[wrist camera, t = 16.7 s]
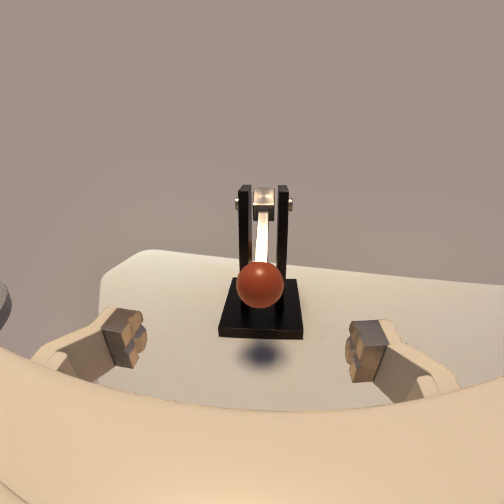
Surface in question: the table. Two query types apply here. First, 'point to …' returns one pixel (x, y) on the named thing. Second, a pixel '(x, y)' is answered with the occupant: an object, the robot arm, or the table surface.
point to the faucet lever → (261, 258)
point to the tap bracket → (288, 306)
